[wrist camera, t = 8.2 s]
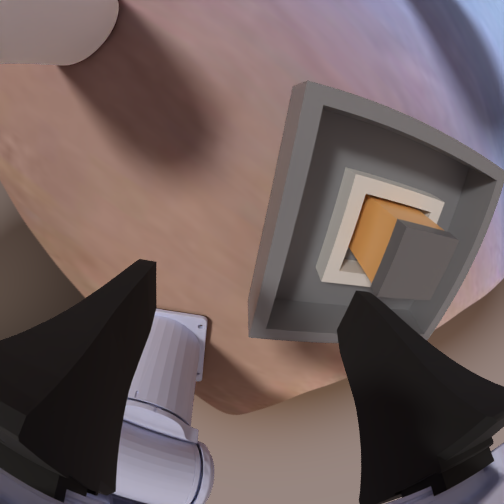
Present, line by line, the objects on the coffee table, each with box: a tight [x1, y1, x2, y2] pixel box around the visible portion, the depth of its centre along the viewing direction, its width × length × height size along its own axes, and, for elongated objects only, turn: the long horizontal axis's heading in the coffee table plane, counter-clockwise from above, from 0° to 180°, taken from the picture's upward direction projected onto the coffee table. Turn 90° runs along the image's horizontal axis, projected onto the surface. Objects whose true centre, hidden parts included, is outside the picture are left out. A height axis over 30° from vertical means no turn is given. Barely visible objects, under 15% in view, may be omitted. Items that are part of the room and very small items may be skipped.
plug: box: [348, 194, 459, 300], centre depth 16 cm, size 4×4×6 cm
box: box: [248, 81, 504, 343], centre depth 17 cm, size 16×16×4 cm
